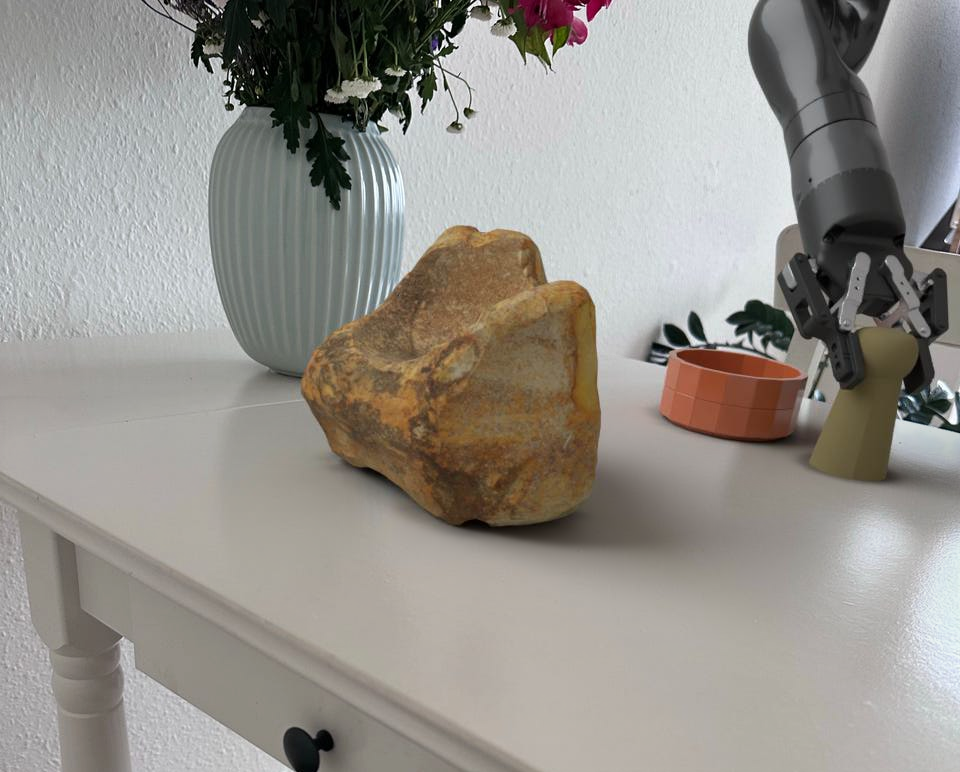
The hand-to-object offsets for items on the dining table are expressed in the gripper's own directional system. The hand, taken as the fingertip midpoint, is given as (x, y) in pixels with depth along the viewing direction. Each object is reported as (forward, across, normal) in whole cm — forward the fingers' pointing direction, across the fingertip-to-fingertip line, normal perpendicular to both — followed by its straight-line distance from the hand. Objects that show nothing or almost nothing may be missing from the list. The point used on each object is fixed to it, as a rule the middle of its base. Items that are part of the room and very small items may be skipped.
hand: (887, 386), depth 72 cm
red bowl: (-5, -5, +15) cm, 16 cm away
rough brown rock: (+8, -35, +2) cm, 36 cm away
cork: (+4, 0, +6) cm, 8 cm away
